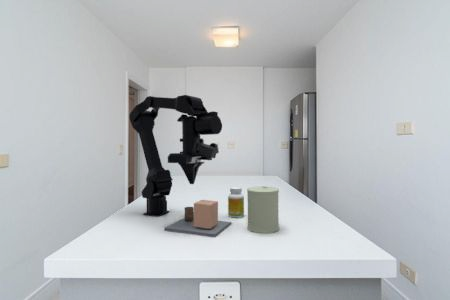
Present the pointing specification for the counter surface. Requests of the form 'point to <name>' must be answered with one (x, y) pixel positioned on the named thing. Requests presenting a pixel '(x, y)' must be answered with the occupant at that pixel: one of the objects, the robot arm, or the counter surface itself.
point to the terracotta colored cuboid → (205, 214)
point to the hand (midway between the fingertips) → (191, 184)
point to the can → (263, 209)
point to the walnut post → (189, 214)
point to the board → (197, 228)
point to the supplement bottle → (236, 203)
